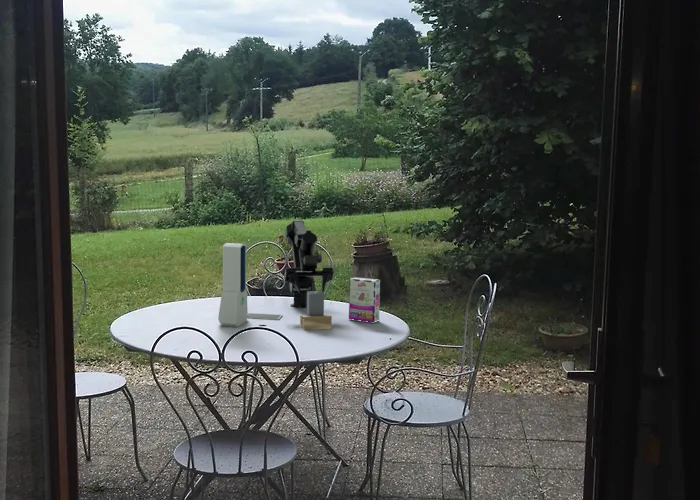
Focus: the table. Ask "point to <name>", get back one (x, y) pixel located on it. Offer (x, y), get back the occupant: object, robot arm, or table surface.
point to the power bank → (315, 303)
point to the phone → (264, 316)
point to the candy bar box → (364, 299)
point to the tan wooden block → (315, 322)
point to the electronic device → (233, 286)
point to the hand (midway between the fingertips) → (311, 292)
